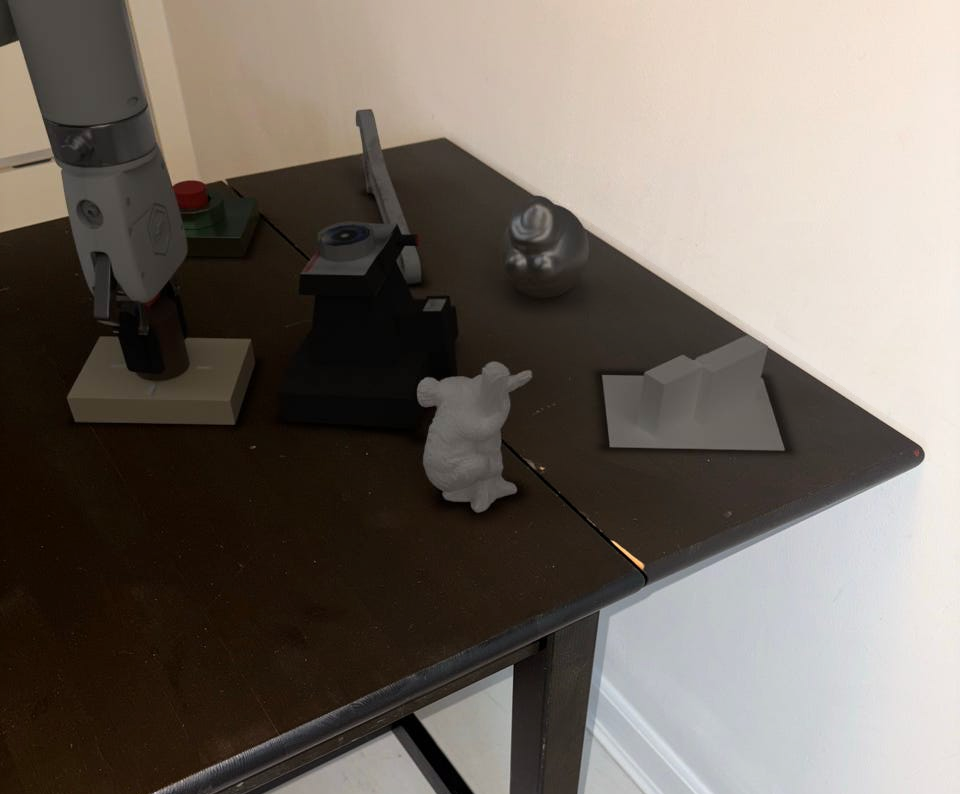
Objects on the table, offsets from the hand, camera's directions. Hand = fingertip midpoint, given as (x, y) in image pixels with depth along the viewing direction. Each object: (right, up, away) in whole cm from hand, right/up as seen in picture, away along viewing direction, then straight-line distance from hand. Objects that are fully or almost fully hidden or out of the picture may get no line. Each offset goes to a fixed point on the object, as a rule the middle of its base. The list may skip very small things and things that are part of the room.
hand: (158, 351), depth 86 cm
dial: (0, -1, +1) cm, 1 cm away
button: (-3, +23, +21) cm, 31 cm away
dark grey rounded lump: (+34, +10, +16) cm, 39 cm away
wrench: (+18, +22, +26) cm, 38 cm away
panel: (0, -3, +3) cm, 4 cm away
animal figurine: (+28, -14, -7) cm, 32 cm away
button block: (-3, +20, +24) cm, 32 cm away
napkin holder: (+47, -5, +1) cm, 47 cm away
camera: (+20, -2, +4) cm, 20 cm away
